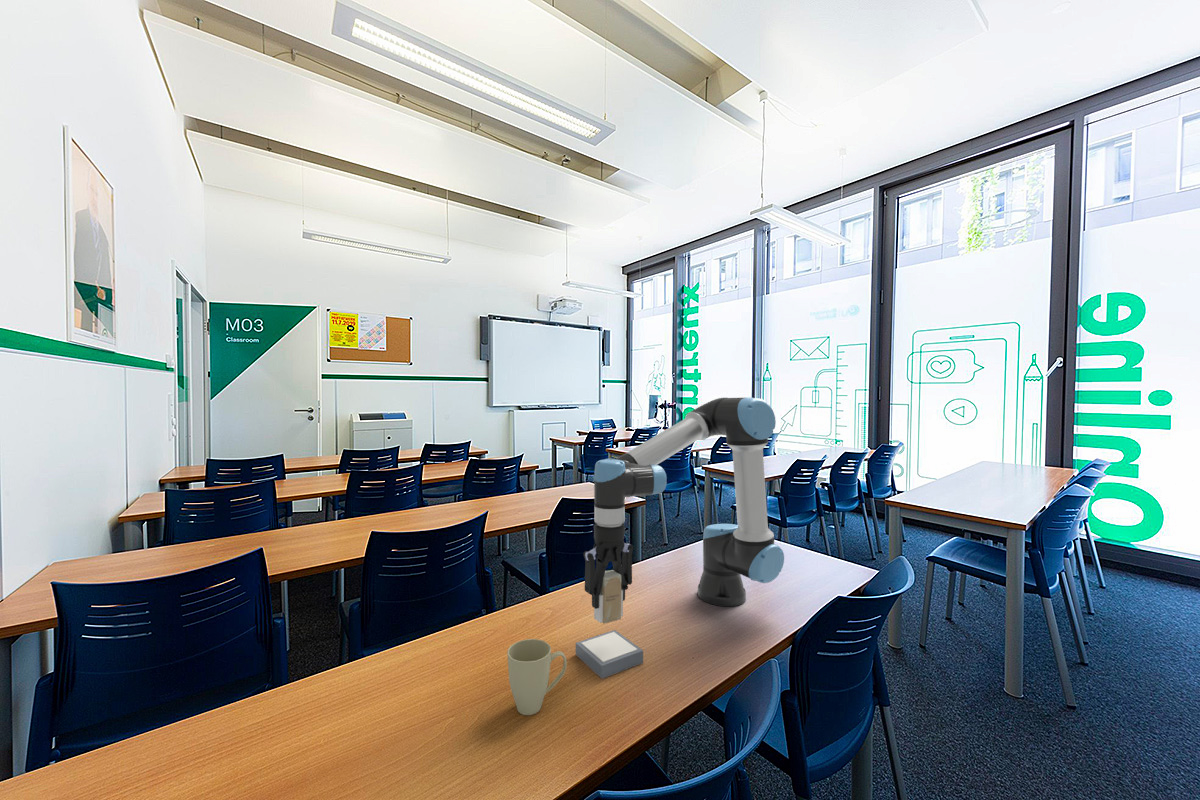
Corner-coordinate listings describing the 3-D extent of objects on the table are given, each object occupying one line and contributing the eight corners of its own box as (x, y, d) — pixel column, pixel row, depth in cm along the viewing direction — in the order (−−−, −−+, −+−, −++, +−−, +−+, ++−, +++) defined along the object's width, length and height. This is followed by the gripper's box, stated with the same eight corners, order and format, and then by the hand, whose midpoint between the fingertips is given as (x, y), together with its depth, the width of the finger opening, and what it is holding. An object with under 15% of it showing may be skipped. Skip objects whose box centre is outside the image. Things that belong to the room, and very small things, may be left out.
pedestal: (614, 641, 124) (614, 629, 124) (643, 662, 114) (643, 649, 113) (575, 654, 117) (575, 642, 117) (601, 678, 107) (601, 665, 107)
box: (603, 624, 112) (603, 578, 112) (595, 617, 116) (594, 572, 116) (622, 619, 115) (621, 574, 114) (613, 612, 118) (613, 568, 118)
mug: (535, 730, 90) (535, 668, 90) (498, 711, 96) (498, 653, 96) (568, 699, 100) (568, 643, 100) (532, 684, 105) (532, 631, 105)
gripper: (629, 515, 123) (629, 602, 123) (569, 524, 113) (568, 620, 113) (647, 521, 117) (647, 614, 117) (585, 532, 107) (584, 633, 107)
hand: (608, 617), depth 115 cm, fingers closed on box, 5 cm apart
